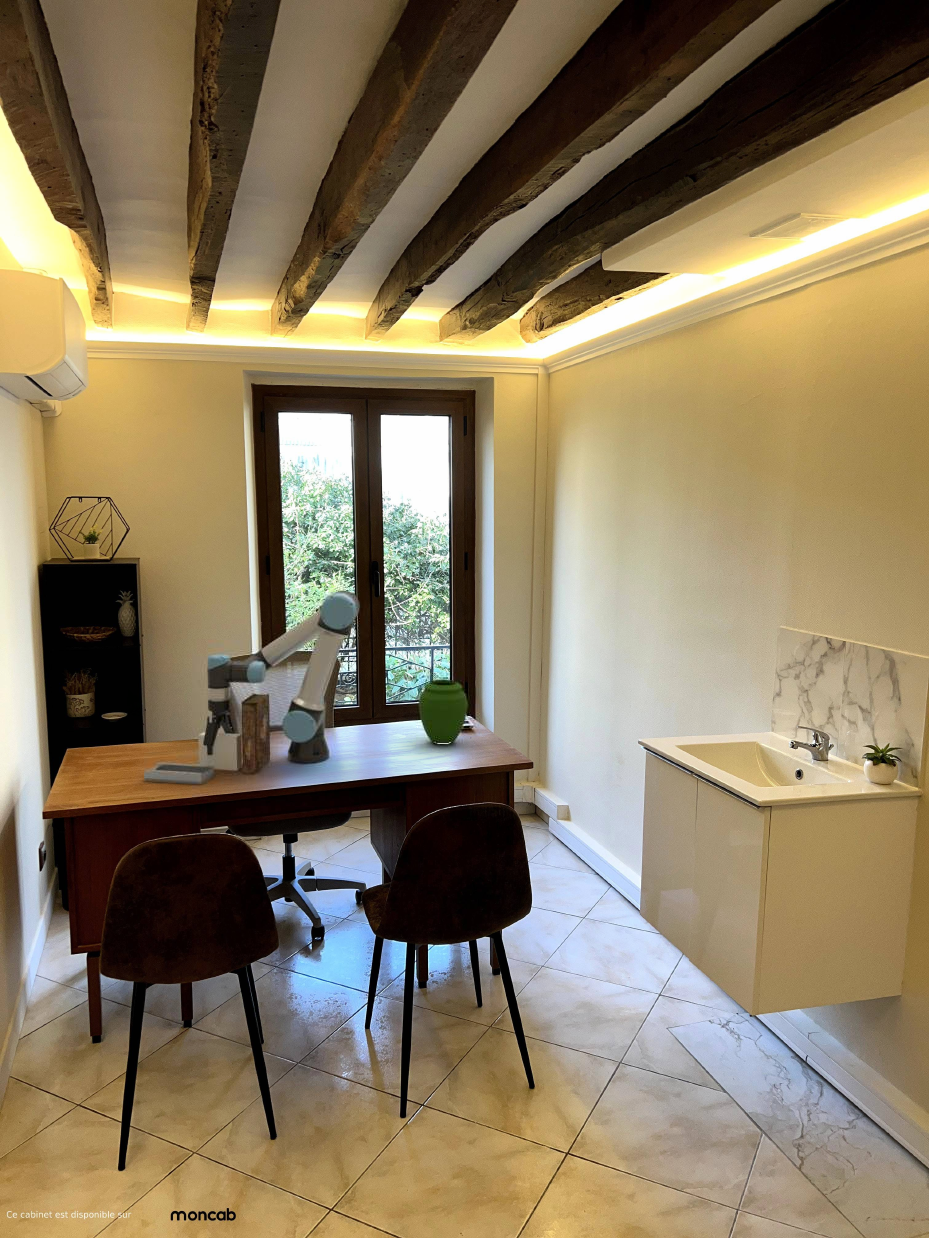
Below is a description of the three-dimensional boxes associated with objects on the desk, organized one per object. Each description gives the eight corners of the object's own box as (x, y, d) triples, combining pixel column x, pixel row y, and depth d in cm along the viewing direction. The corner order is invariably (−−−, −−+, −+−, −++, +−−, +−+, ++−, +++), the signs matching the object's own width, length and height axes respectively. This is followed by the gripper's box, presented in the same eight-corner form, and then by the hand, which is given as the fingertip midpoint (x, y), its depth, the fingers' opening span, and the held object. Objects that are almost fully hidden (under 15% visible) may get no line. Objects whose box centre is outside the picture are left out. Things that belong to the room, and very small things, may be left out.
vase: (416, 736, 333) (417, 677, 330) (464, 735, 335) (465, 677, 332) (419, 749, 314) (420, 687, 311) (469, 749, 316) (470, 687, 313)
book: (257, 774, 281) (256, 703, 278) (241, 774, 281) (240, 702, 278) (270, 760, 297) (269, 693, 294) (255, 760, 297) (254, 692, 294)
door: (242, 766, 289) (241, 733, 288) (236, 770, 285) (236, 737, 283) (205, 764, 291) (204, 731, 290) (199, 768, 287) (198, 734, 285)
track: (214, 775, 278) (213, 765, 278) (201, 784, 269) (200, 774, 269) (159, 772, 281) (159, 762, 281) (144, 780, 272) (144, 770, 271)
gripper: (224, 691, 297) (225, 747, 300) (192, 706, 273) (193, 767, 276) (244, 692, 296) (244, 749, 299) (213, 707, 272) (214, 769, 274)
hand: (220, 758), depth 287 cm, fingers open, 13 cm apart
